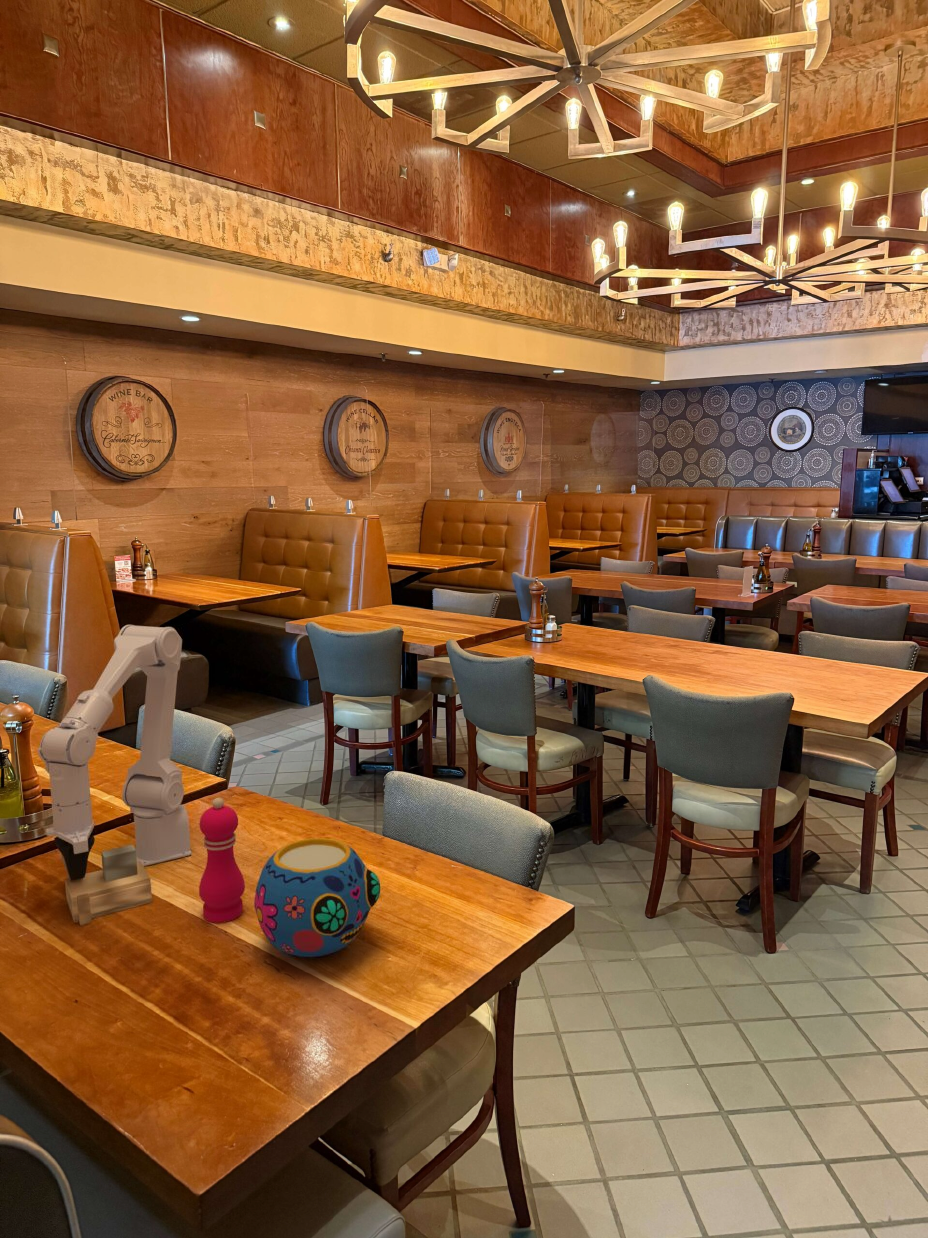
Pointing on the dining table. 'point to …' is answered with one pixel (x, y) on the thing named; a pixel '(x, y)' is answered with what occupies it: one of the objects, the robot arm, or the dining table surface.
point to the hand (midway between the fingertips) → (77, 877)
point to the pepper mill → (220, 865)
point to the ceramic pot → (314, 897)
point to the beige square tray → (107, 903)
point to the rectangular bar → (66, 867)
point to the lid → (111, 874)
